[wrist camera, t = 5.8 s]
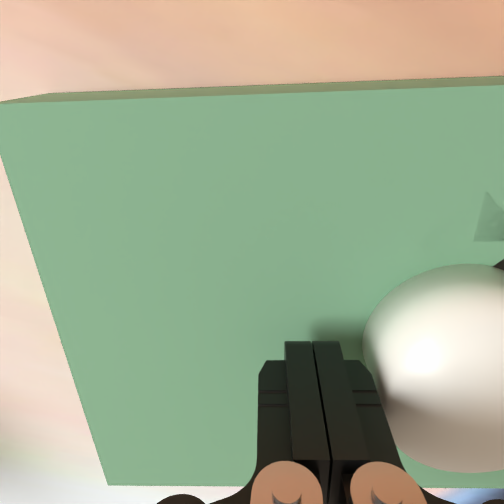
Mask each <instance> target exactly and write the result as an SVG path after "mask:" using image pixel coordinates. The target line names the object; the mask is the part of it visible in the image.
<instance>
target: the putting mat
mask: <svg viewBox="0 0 504 504" xmlns="http://www.w3.org/2000/svg"><path fill="white" fill-rule="evenodd" d="M0 155H1V158H2V162H3V165H4V168H5V171H6V174H7V177H8V180H9V183H10V186H11V189H12V192H13V195H14V198H15V201H16V204H17V208H18V211H19V214H20V217H21V220H22V223H23V226H24V229H25V232H26V235H27V238H28V241H29V244H30V247H31V250H32V254H33V257H34V260H35V263H36V266H37V269H38V272H39V275H40V278H41V281H42V284H43V287H44V290H45V293H46V297H47V300H48V303H49V306H50V309H51V312H52V315H53V318H54V321H55V324H56V327H57V330H58V333H59V336H60V339H61V343H62V346H63V349H64V352H65V355H66V358H67V361H68V364H69V367H70V370H71V373H72V376H73V379H74V382H75V386H76V389H77V392H78V395H79V398H80V401H81V404H82V407H83V410H84V413H85V416H86V419H87V422H88V425H89V428H90V432H91V435H92V438H93V441H94V444H95V447H96V450H97V453H98V456H99V459H100V462H101V465H102V468H103V471H104V475H105V478H106V481H107V484H108V485H130V486H246V484H247V483H248V482H249V481H250V479H251V477H252V476H253V473H254V471H255V468H256V461H257V419H258V374H259V372H260V370H261V369H262V367H263V365H264V363H265V362H266V360H284V342H285V341H311V343H312V341H339V343H340V346H341V350H342V354H343V358H344V360H360V361H361V363H362V364H363V365H364V366H365V367H366V368H367V366H366V363H365V360H364V357H363V351H362V338H363V332H364V329H365V326H366V323H367V321H368V319H369V317H370V315H371V313H372V312H373V310H374V309H375V307H376V306H377V305H378V304H379V303H380V301H381V300H382V299H383V298H384V297H385V296H386V295H387V294H388V293H389V292H391V291H392V290H393V289H394V288H396V287H397V286H398V285H400V284H401V283H403V282H404V281H406V280H408V279H410V278H412V277H413V276H416V275H418V274H420V273H423V272H425V271H428V270H431V269H434V268H438V267H442V266H447V265H454V264H480V265H488V266H491V267H495V268H499V269H501V270H504V76H487V77H461V78H435V79H409V80H382V81H356V82H330V83H304V84H278V85H252V86H226V87H200V88H174V89H148V90H122V91H96V92H69V93H48V94H42V95H36V96H30V97H24V98H19V99H13V100H7V101H1V102H0ZM395 445H396V444H395ZM396 448H397V451H398V454H399V457H400V460H401V462H402V465H403V467H404V468H405V470H406V472H407V473H408V474H409V475H410V476H411V477H412V478H413V479H414V480H415V482H416V483H417V484H418V485H419V486H420V487H421V488H504V469H503V470H498V471H491V472H481V473H459V472H450V471H444V470H440V469H435V468H432V467H429V466H426V465H424V464H422V463H419V462H417V461H415V460H414V459H412V458H410V457H409V456H407V455H406V454H405V453H404V452H402V451H401V450H400V449H399V448H398V447H397V445H396Z"/></svg>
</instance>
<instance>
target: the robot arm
mask: <svg viewBox="0 0 504 504" xmlns="http://www.w3.org/2000/svg"><path fill="white" fill-rule="evenodd" d="M157 504H205V503H204V502H203V501H202V500H200V499H199V498H197V497H195V496H192V495H188V494H178V495H173V496H169V497H167V498H165V499H163V500H161V501H160V502H158V503H157ZM210 504H455V503H452V502H449V501H446V500H443V499H440V498H438V497H436V496H434V495H432V494H430V493H428V492H427V491H425V490H424V489H422V488H421V487H420V486H419V485H418V484H417V483H416V482H415V480H414V479H413V478H412V477H411V476H410V475H409V474H408V473H407V472H406V470H405V468H404V467H403V465H402V462H401V460H400V457H399V454H398V451H397V448H396V445H395V442H394V439H393V436H392V433H391V430H390V427H389V424H388V421H387V418H386V415H385V412H384V409H383V408H382V403H381V400H380V397H379V394H377V388H376V385H375V382H374V380H373V377H372V374H371V373H370V372H369V370H368V369H367V368H366V367H365V366H364V365H363V364H362V363H361V361H360V360H344V358H343V354H342V350H341V346H340V343H339V341H312V343H311V341H285V342H284V360H266V362H265V363H264V365H263V367H262V369H261V370H260V372H259V374H258V419H257V461H256V468H255V471H254V473H253V476H252V477H251V479H250V481H249V482H248V483H247V484H246V486H245V487H244V488H242V489H241V490H240V491H239V492H237V493H236V494H234V495H232V496H230V497H227V498H224V499H222V500H219V501H216V502H213V503H210ZM483 504H504V500H501V499H495V500H489V501H486V502H484V503H483Z"/></svg>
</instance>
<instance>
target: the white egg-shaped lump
mask: <svg viewBox="0 0 504 504" xmlns="http://www.w3.org/2000/svg"><path fill="white" fill-rule="evenodd" d="M362 351H363V357H364V360H365V363H366V366H367V369H368V370H369V372H370V373H371V374H372V377H373V380H374V382H375V385H376V388H377V394H379V397H380V400H381V403H382V408H383V409H384V412H385V415H386V418H387V421H388V424H389V427H390V430H391V433H392V436H393V439H394V442H395V444H396V445H397V447H398V448H399V449H400V450H401V451H402V452H404V453H405V454H406V455H407V456H409V457H410V458H412V459H414V460H415V461H417V462H419V463H422V464H424V465H426V466H429V467H432V468H435V469H440V470H444V471H450V472H459V473H481V472H491V471H498V470H503V469H504V270H501V269H499V268H495V267H491V266H488V265H480V264H454V265H447V266H442V267H438V268H434V269H431V270H428V271H425V272H423V273H420V274H418V275H416V276H413V277H412V278H410V279H408V280H406V281H404V282H403V283H401V284H400V285H398V286H397V287H396V288H394V289H393V290H392V291H391V292H389V293H388V294H387V295H386V296H385V297H384V298H383V299H382V300H381V301H380V303H379V304H378V305H377V306H376V307H375V309H374V310H373V312H372V313H371V315H370V317H369V319H368V321H367V323H366V326H365V329H364V332H363V338H362Z"/></svg>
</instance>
